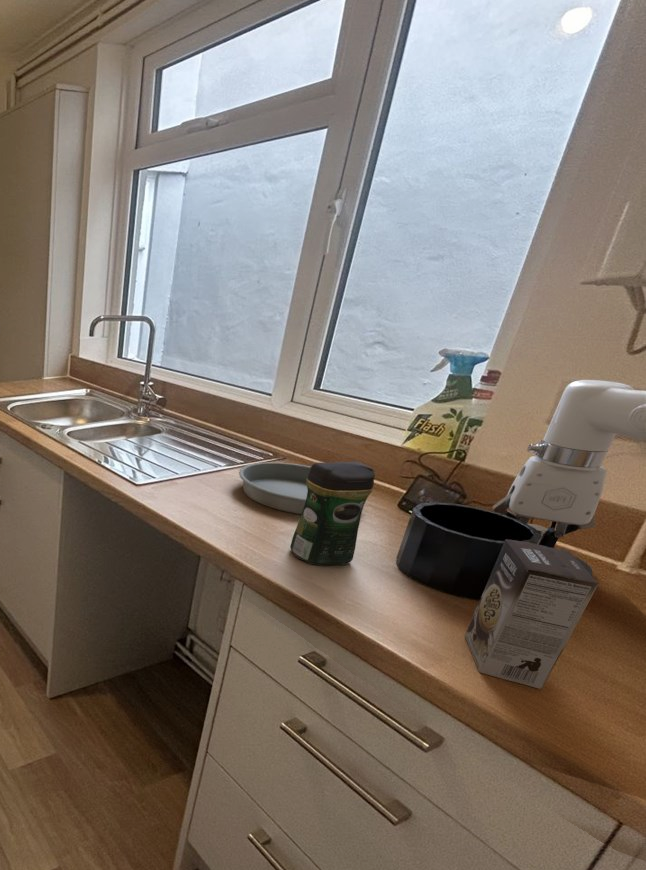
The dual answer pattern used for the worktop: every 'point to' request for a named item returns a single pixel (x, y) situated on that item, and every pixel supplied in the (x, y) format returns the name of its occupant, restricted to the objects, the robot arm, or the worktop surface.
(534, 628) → the coffee box
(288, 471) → the cake pan
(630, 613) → the worktop surface
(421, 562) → the bin
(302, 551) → the coffee jar
